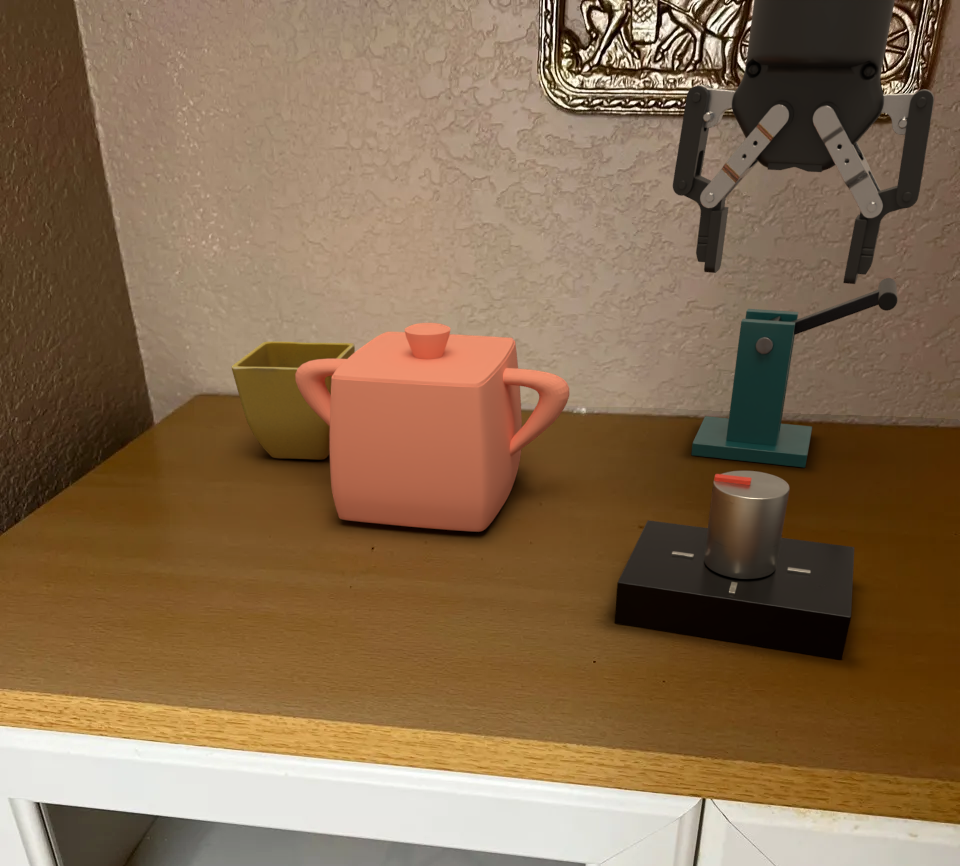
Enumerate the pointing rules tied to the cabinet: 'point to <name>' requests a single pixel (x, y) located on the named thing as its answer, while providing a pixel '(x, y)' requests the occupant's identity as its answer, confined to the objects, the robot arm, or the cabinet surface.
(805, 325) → the lever
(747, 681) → the cabinet surface
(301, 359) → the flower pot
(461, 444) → the sugar bowl
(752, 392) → the lever bracket
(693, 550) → the dial panel
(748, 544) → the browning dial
